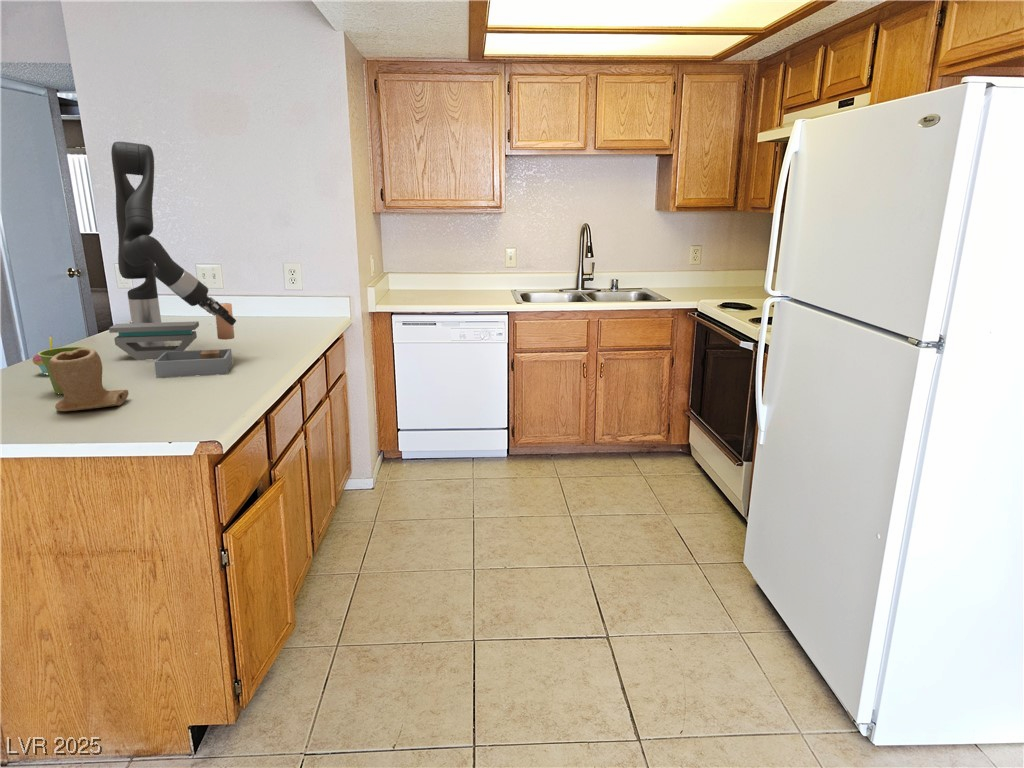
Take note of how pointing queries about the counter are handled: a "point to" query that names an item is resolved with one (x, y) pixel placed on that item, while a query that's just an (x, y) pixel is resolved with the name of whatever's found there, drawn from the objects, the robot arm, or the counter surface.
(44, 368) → the cupcake
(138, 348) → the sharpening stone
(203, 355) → the cube
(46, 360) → the plant pot
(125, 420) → the counter surface
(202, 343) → the counter surface
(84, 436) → the counter surface
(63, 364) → the tan hollow clay piece
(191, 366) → the tote
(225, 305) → the peach dome-topped cylinder
